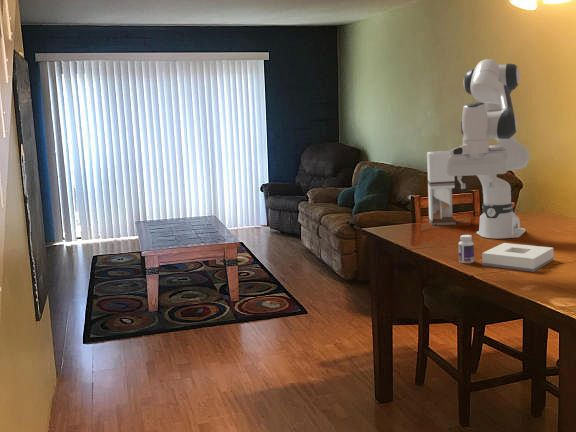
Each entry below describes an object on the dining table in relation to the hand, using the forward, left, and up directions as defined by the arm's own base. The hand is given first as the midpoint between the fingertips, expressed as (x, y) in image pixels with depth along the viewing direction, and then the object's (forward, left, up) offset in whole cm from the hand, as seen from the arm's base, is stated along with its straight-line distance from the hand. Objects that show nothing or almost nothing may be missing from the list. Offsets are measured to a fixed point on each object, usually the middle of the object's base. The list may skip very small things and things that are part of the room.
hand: (477, 188), depth 206 cm
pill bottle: (+1, -4, -27) cm, 28 cm away
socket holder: (-6, +12, -27) cm, 30 cm away
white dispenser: (-62, -49, -27) cm, 84 cm away
